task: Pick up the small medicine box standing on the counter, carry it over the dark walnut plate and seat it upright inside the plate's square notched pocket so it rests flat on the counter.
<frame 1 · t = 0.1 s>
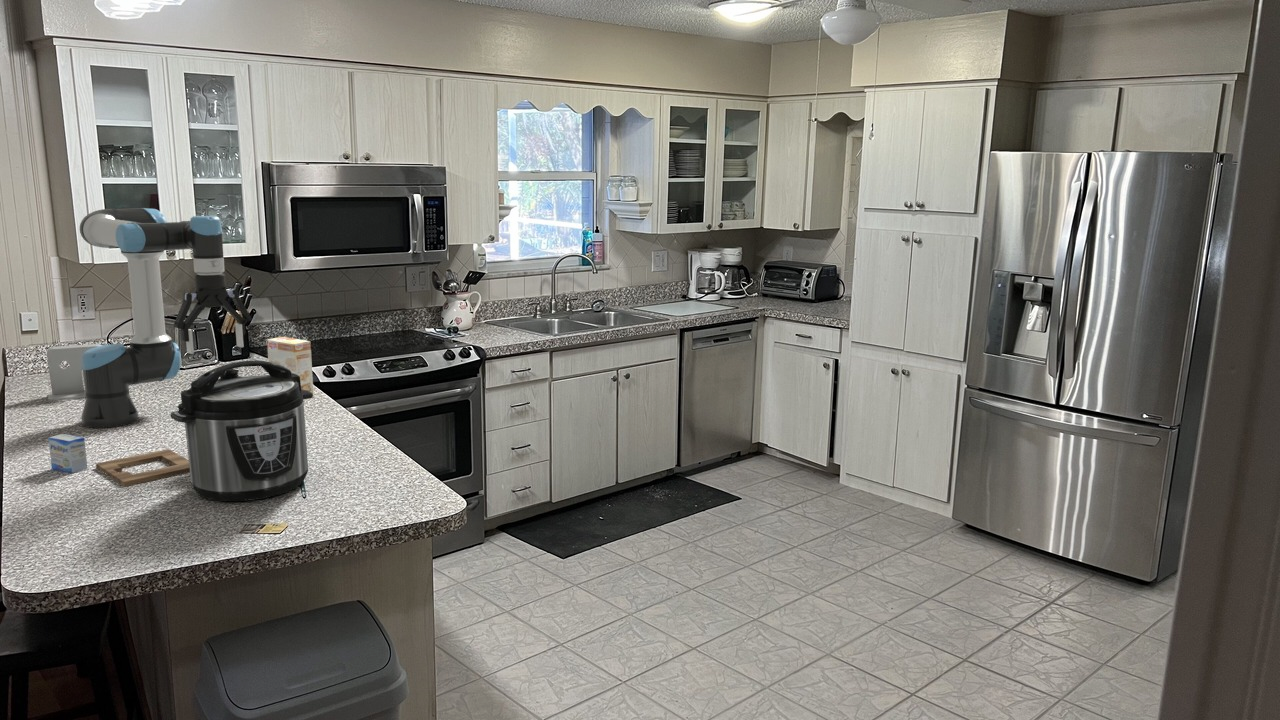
hand: (215, 349, 251), 28 cm above the counter, tool pointing down, fingers open, 13 cm apart
walnut pocket plate: (147, 468, 237), on the counter
pressure cooker: (252, 487, 225), on the counter
coffeecake box: (292, 395, 316), on the counter
medicine box: (69, 469, 236), on the counter
phone holder: (78, 395, 311), on the counter
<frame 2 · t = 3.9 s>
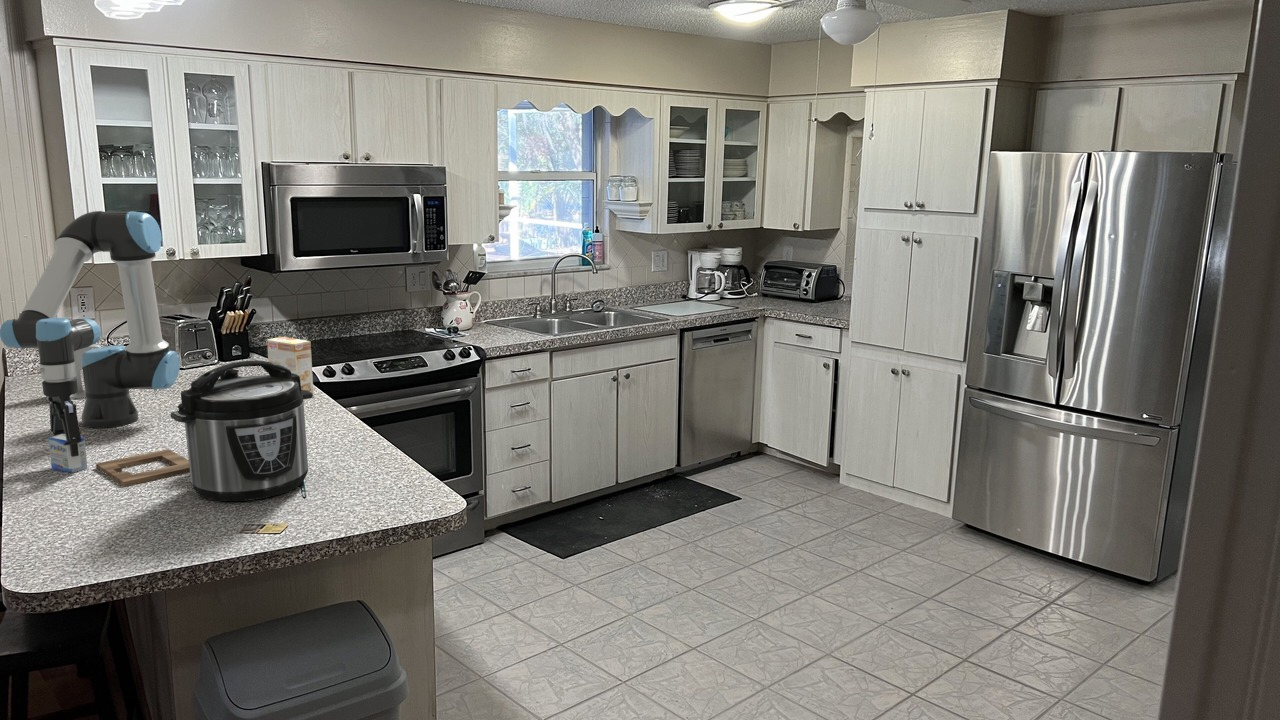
hand: (69, 463, 236), 1 cm above the counter, tool pointing down, fingers closed on medicine box, 9 cm apart
medicine box: (69, 469, 236), on the counter, touching gripper
everything else where it was.
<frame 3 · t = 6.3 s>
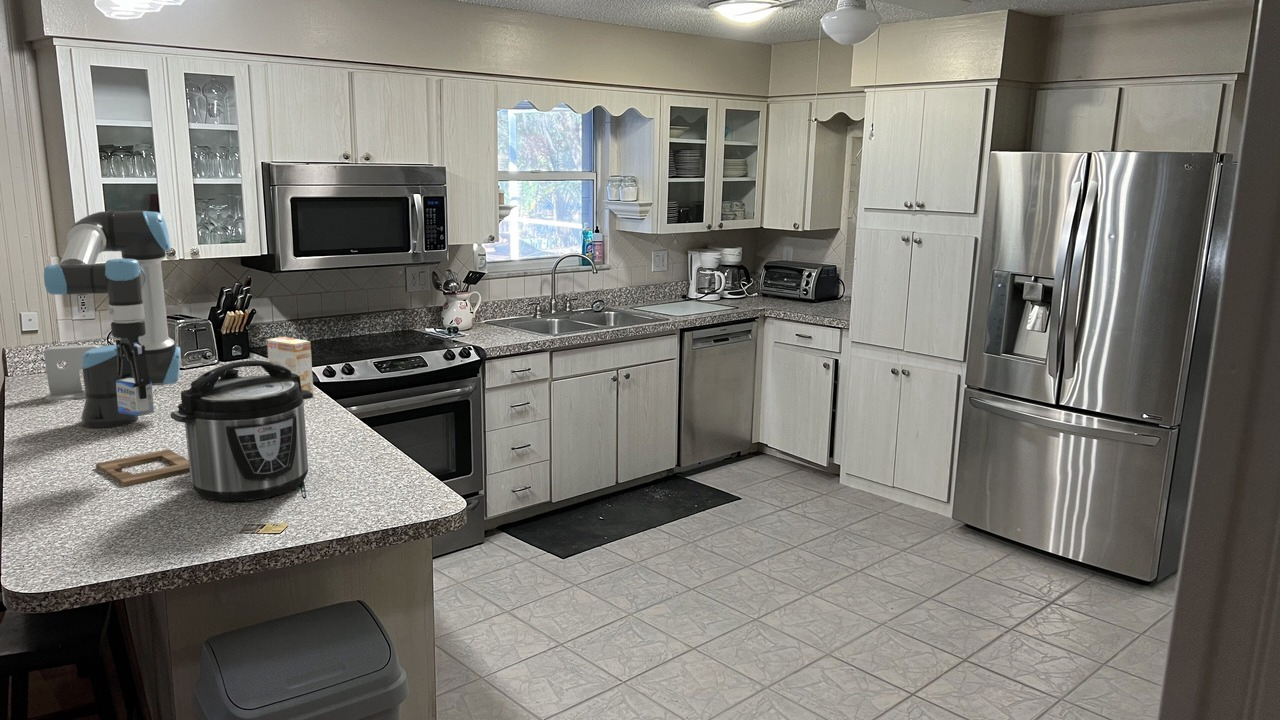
hand: (136, 407, 233), 17 cm above the counter, tool pointing down, fingers closed on medicine box, 9 cm apart
medicine box: (136, 413, 233), point 15 cm above the counter, touching gripper
everything else where it was.
when the fingers open (3 cm above the counter, at t = 8.6 s): medicine box drops 1 cm, resting in walnut pocket plate.
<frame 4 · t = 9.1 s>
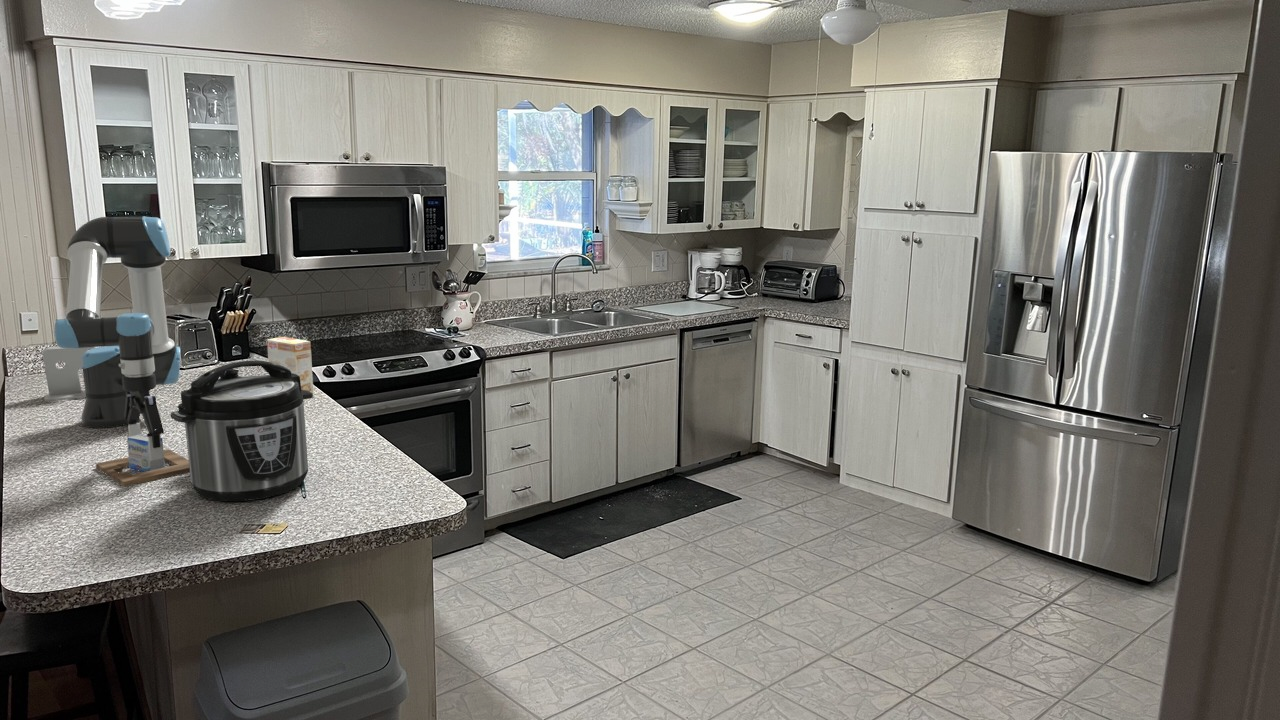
hand: (146, 453, 236), 4 cm above the counter, tool pointing down, fingers open, 13 cm apart
medicine box: (147, 469, 237), resting in walnut pocket plate
everything else where it was.
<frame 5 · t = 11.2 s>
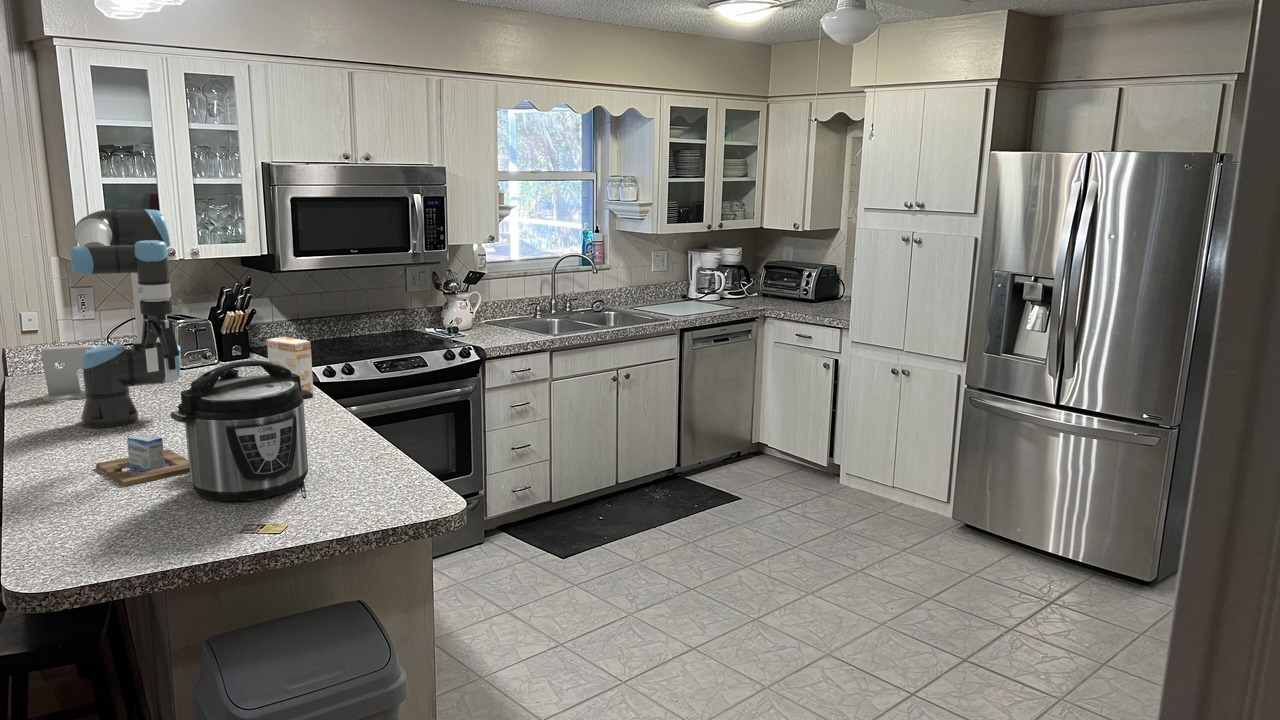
hand: (162, 376, 247), 22 cm above the counter, tool pointing down, fingers open, 13 cm apart
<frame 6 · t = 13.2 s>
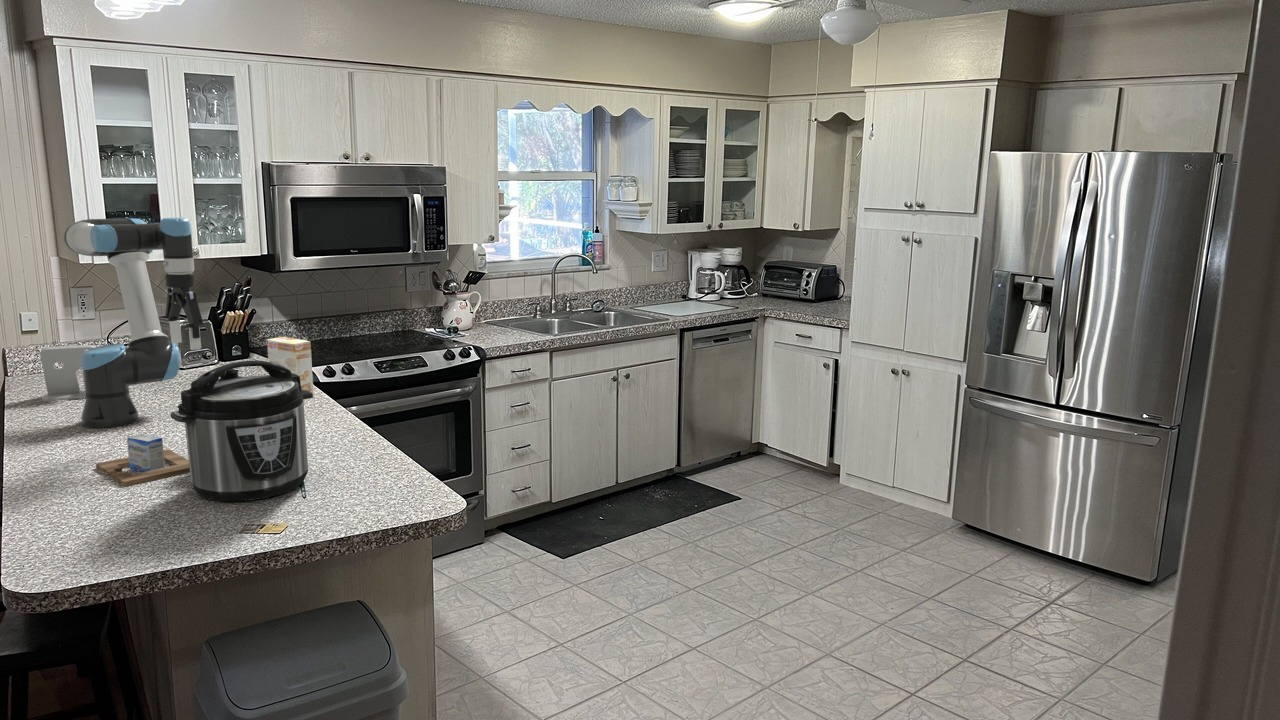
hand: (186, 346, 262), 27 cm above the counter, tool pointing down, fingers open, 13 cm apart
at the end: medicine box inside the target area on the walnut pocket plate (0.1 cm from its centre), point 0.0 cm above the walnut pocket plate's base; medicine box tilted 0°; the gripper is holding nothing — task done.
